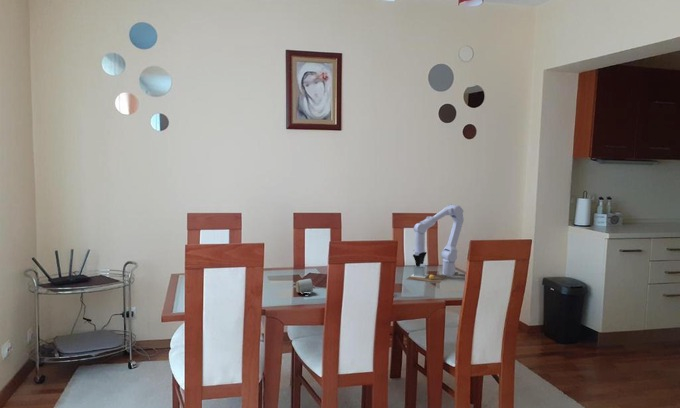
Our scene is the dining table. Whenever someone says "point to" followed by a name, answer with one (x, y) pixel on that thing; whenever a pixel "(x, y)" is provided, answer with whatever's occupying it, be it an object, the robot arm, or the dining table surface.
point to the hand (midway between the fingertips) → (419, 265)
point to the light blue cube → (419, 270)
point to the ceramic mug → (304, 286)
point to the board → (428, 279)
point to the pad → (419, 276)
